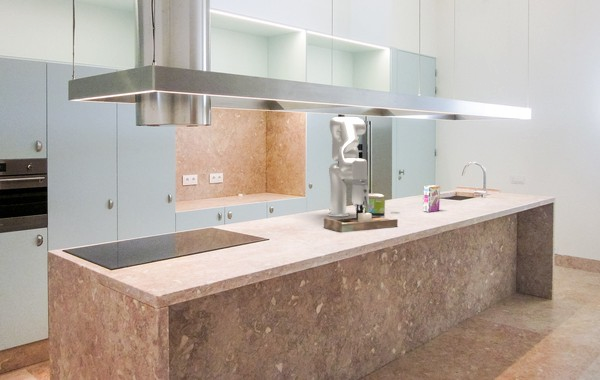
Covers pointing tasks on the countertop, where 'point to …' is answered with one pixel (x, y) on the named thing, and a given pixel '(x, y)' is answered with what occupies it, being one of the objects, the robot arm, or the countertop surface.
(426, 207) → the candy bar box
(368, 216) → the cream block
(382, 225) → the trap board
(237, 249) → the countertop surface
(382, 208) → the tea box
